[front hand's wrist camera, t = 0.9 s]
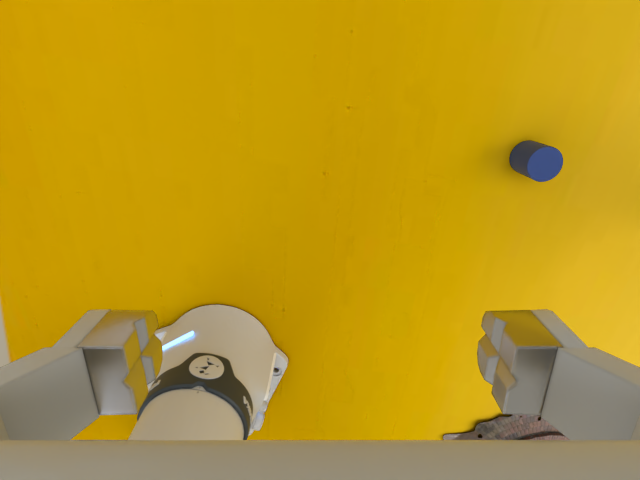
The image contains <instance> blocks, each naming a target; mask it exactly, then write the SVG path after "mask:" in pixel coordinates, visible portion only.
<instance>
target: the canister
mask: <svg viewBox="0 0 640 480" xmlns="http://www.w3.org/2000/svg"><path fill="white" fill-rule="evenodd" d="M510 165H511V167H512V168H513V169H514V170H515V171H517V172H519V173H521V174H523V175H525V176H527V177H529V178H531V179H533V180H535V181H539V182H544V181H548V180H551V179H552V178H554V177H555V176H556V175H557V174H558V173H559V172H560V170H561V168H562V165H563V157H562V154H561V153H560V151H559V150H558V149H556V148H554V147H551V146H547V145H544V144H541V143H538V142H534V141H523V142H521V143H519V144H518V145H516V146H515V147H514V149H513V150H512V152H511V154H510Z"/></svg>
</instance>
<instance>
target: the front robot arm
mask: <svg viewBox="0 0 640 480" xmlns="http://www.w3.org/2000/svg"><path fill="white" fill-rule="evenodd" d="M158 326H159V325H158V320H157V315H156V314H155V312H154V311H149V310H111V309H109V310H90V311H88V312H87V313H86V314H85V315H84V316H83V317H82V318H81V319H80V320H79V321H78V322H77V323H76V324H75V325H74V326H73V327H72V328H71V329H70V330H69V331H68V332H67V333H66V334H65V335H64V336H63V337H62V338H61V339H60V340H59V341H58V342H57V343H56V344H55V345H54V346H53V347H52V348H43V349H41V350H38V351H36V352H34V353H32V354H29V355H27V356H25V357H23V358H20V359H18V360H16V361H14V362H11V363H9V364H7V365H5V366H2V367H0V480H640V367H638V366H635V365H633V364H631V363H629V362H626V361H624V360H622V359H620V358H617V357H615V356H613V355H611V354H608V353H606V352H604V351H602V350H599V349H597V348H588V347H587V346H586V345H585V344H584V343H583V342H582V341H581V340H580V339H579V338H578V337H577V336H576V335H575V334H574V333H573V332H572V331H571V330H570V329H569V328H568V327H567V326H566V325H565V324H564V323H563V322H562V321H561V319H560V318H559V317H558V316H557V315H556V314H555V313H554V312H553V311H550V310H547V309H543V310H511V311H486V312H485V314H484V316H483V319H482V325H481V326H482V328H483V330H484V331H485V333H486V334H485V335H484V336H483V338H482V339H481V340H480V341H479V343H478V350H477V357H478V365H479V369H480V372H481V374H482V376H483V378H484V380H486V381H487V382H489V383H490V384H492V385H493V387H492V395H493V397H494V398H495V400H496V402H497V404H498V406H499V408H500V409H501V411H502V413H503V414H520V415H541V417H542V418H543V419H544V420H545V421H547V422H548V423H549V424H551V425H552V426H553V427H554V428H556V429H557V430H558V431H559V432H561V433H562V434H563V435H565V436H566V437H567V438H568V439H570V440H247V437H248V435H250V434H252V433H253V431H254V430H256V431H258V430H260V429H261V427H262V424H263V421H264V416H265V414H264V413H263V412H265V411H266V409H267V405H268V402H269V401H270V399H271V397H272V395H273V393H274V391H275V389H276V387H277V385H278V383H279V381H280V380H281V378H282V376H283V374H284V372H285V370H286V368H287V365H288V358H287V356H286V355H285V354H284V353H283V352H282V351H281V350H280V349H278V348H277V347H276V346H275V345H274V343H273V341H272V339H271V337H270V335H269V333H268V332H267V330H266V329H265V327H264V326H263V325H262V324H261V323H260V322H259V321H258V320H257V319H256V318H255V317H253V316H252V315H250V314H249V313H247V312H245V311H243V310H241V309H238V308H235V307H231V306H226V305H206V306H201V307H198V308H195V309H193V310H190V311H189V312H187V313H185V314H184V315H183V316H181V317H180V318H179V319H178V320H177V321H176V322H175V323H173V324H172V325H170V326H167V327H164V328H161V329H158V330H157V328H158ZM274 368H278V369H274ZM147 386H148V387H147ZM139 409H140V410H139ZM138 411H139V413H138ZM137 413H138V417H137V423H136V425H135V427H134V429H133V431H132V433H131V435H130V437H129V439H128V440H70V439H72V438H73V437H74V436H76V435H77V434H78V433H79V432H81V431H82V430H83V429H84V428H86V427H87V426H88V425H90V424H91V423H92V422H93V421H95V420H96V419H97V418H99V415H120V414H137Z"/></svg>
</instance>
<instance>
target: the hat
mask: <svg viewBox="0 0 640 480" xmlns="http://www.w3.org/2000/svg"><path fill="white" fill-rule="evenodd" d="M520 416H522V417H520ZM539 417H541V415H520V414H513V415H512V416H510V417H498V418H495V419H494V420H491V421H488V422H483V423H479V424H478V425H477V426H476V428H475V431H473V432H469V433H462V434H446V435H444V436H443V439H444V440H570V439H568V438H567V437H566V436H565V435H563V434H562V433H561V432H559V431H558V430H557V429H556V428H554V427H553V426H552V425H551V424H549V423H548V422H547V421H545V420H544V419H543V418H542V417H541V420H540V421H538V418H539ZM479 434H481V435H482V436H483V437H482V438H478V437H477V436H478V435H479Z"/></svg>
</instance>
